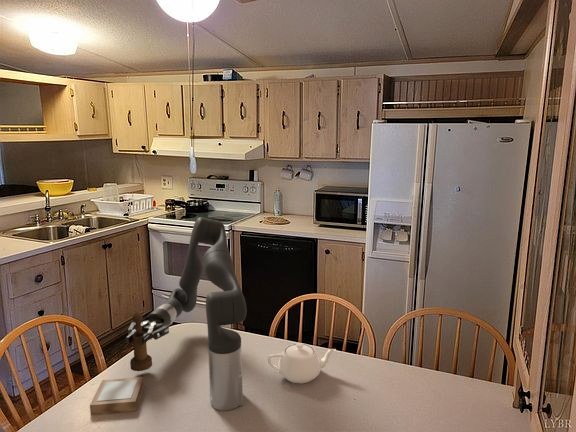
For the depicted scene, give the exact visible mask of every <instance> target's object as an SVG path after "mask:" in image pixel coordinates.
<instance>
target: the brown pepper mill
mask: <svg viewBox="0 0 576 432" xmlns="http://www.w3.org/2000/svg"><path fill="white" fill-rule="evenodd" d="M132 322H135V324H136V326H135V331H136V332H135V333H134V334H133V335H132V336H133V341H132V344H133V357H132V358H131V359H130V361H129V364H130V369H131V371H133V372H143V371H146V370H148V369H150V368H151V367H153V359H152V358H153V357H152V356H151V355H149V354H148V349H147V342H146V343H144V344H143V345H140V338H141V337H142V336H143V335H144V334H146V333H145V332H144V331H142V326H141V322H143V314H142V313H141V312H135V313H134V314H133V315H132Z"/></svg>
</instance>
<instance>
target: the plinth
mask: <svg viewBox="0 0 576 432" xmlns="http://www.w3.org/2000/svg"><path fill="white" fill-rule="evenodd" d="M144 388H145V378H144V376H139V377H125V378H115V379H113V378H112V379H103V380H101V382H100V384H99V387H98V388H97V390H96V392H95V393H94V396H93V399H92V400H91V403H90V404H89V410H90V411H89V412H90V416H93V415H94V416H95V415H106V414H117V413H119V414H120V413H128V412H129V413H130V412H137V409H138V407H139V403H140V400H141V398H142V394H143V391H144Z"/></svg>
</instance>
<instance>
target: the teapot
mask: <svg viewBox="0 0 576 432" xmlns="http://www.w3.org/2000/svg"><path fill="white" fill-rule="evenodd" d="M336 351H337V349H336V348H330V349H328V350H327V351H326V353H325V355H324V356H323V357H321V358H320V357H319V355H318V353H317V350H316V349H315V348H314V346H311V345H310V344H307V343H302V342H298V343H292V344H291V343H290V344H288V345H287V346H285V348H284V349H283V351H282V352H280V353H278V352H277V353H270V354H269V355H268V356H267V363H268V364H269V366H270V367H271V368H273V369H274V370H277V371H279V374H280V375H281V376H282V377H283V379H285V380H286V381H288V382H290V383H293V384H305V383H306V384H307V383H309V382H312V381H313V380H315V378H317V377H318V376H319V375H320V373H321V370H322V369H324V368H325V367H326V366H327V364H328V363H329V359H330V356H331V355H332V353H334V352H336ZM273 358H279V361H278V364H277V365H278V366H277V365H275V364H274V363H273V362H272V359H273Z"/></svg>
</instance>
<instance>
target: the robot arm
mask: <svg viewBox="0 0 576 432" xmlns="http://www.w3.org/2000/svg"><path fill="white" fill-rule="evenodd" d="M224 224H225V223H223V222H222V221H221V220H220V221H219V220H216V219H213V218H212V219H211V218H207V217H203V216H202V217H201V216H199V217H198V218H197V219H195V222H194V223H193V227H192V230H191V234H190V239H189V243H188V244H189V245H188V248H187V255H186V258H185V259H186V260H185V263H184V267H183V270H182V273H181V276H180V279H179V281H178V284H179V285H178V286H179V287H180V288H174V289H173V290H172V291H171V292H170V294H169V296H168V299H166V301H165V302H164V303H163V304H161V305H159V306H158V307H157V308H155V309H154V310H153V311H151V312H150V313H148V315H147V316H146V317H145V320H144V321H143V320H142V321H141V326H142V331H144V332H145V333H146V334H144V335H143V336H142V337H141V338H140V345H143V344H144V343H146V344H147V342H148V341H151V340H159V339H160V338H162V337H164V336H165V335H167V334H169V333H170V328H169V327H170V325H172V324H173V323H174V321H175V320H177V318H178V317H179V316H181V314H182V312H183V313H191V312H192V311H193V310H194V309H195V308H196V305H197V300H198V285H199V284H200V280H201V278H202V275H203V272H204V275H205V277H206V279H207V280H208V281H209V282H210V283H212V284H213V285H214V286H216V287H218V288H219V289H221V290H222V291H214V292H209V293H208V294H207V295H206V297H205V314H206V315H205V316H206V324H207V325H206V326H207V343H208V344H207V345H208V371H209V372H208V375H209V376H208V377H209V379H208V380H209V400H210V405H211V407H212V408H213V409H214V410H217V411H218V410H219V411H231V410H234V409H236V408H237V407H241V406H244V402H243V401H244V399H243V397H244V396H243V393H244V392H243V368H242V366H243V365H242V337H241V335H240V333H239V332H237V331H235V330H232V329H230V328H225V327H223V326H228V325H235V324H240V323H242V322H244V321H245V320H246V317H247V314H248V313H247V310H248V309H247V303H246V299H245V296H244V293H243V290H242V288H241V286H240V284H239V281H238V278H237V276H236V271H235V267H234V262H233V259H232V256H231V253H230V249H229V246H228V245H229V244H228V240H227V233H226V228H225V225H224ZM199 244H203V245H209V246H210V247H209V248H208V249H207V250H206V252H205V253H204V256H203V257H202V260H201V258H200V255H199V251H198V250H199V249H198V248H199ZM201 261H202V262H201ZM135 326H136V324H135V322H134V321H132V322H131V323H130V325H129V327H128V329H127V331H128V333H127V334H128V335H127V336H126V339H125V340H126V344H131V343H133V336H132V335H133V334H134V333H135V332H136V331H135Z"/></svg>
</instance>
